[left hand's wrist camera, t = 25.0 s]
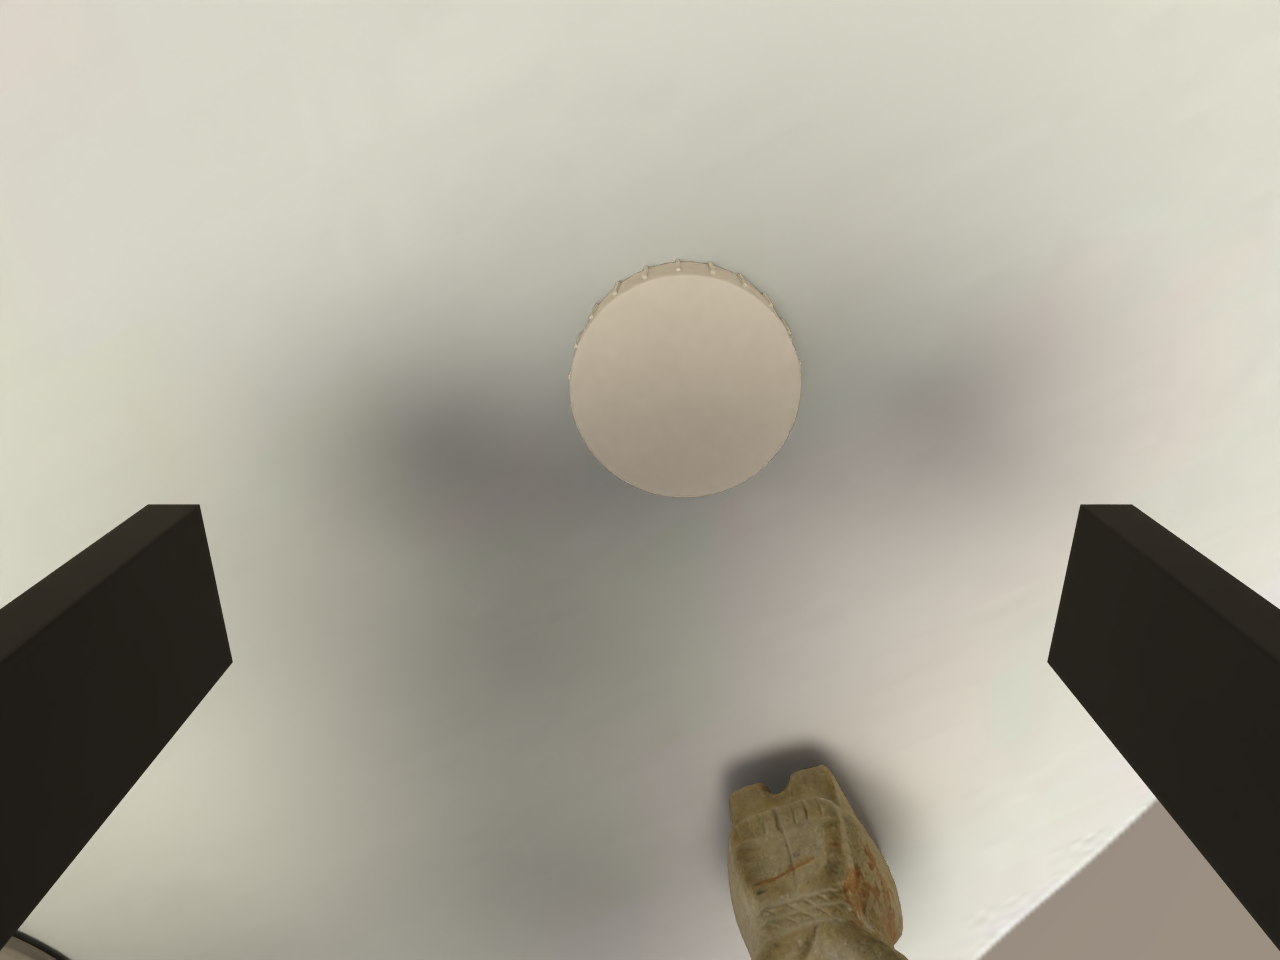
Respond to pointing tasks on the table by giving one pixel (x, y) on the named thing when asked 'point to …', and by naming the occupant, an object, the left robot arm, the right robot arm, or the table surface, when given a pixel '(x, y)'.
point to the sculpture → (809, 875)
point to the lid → (685, 380)
